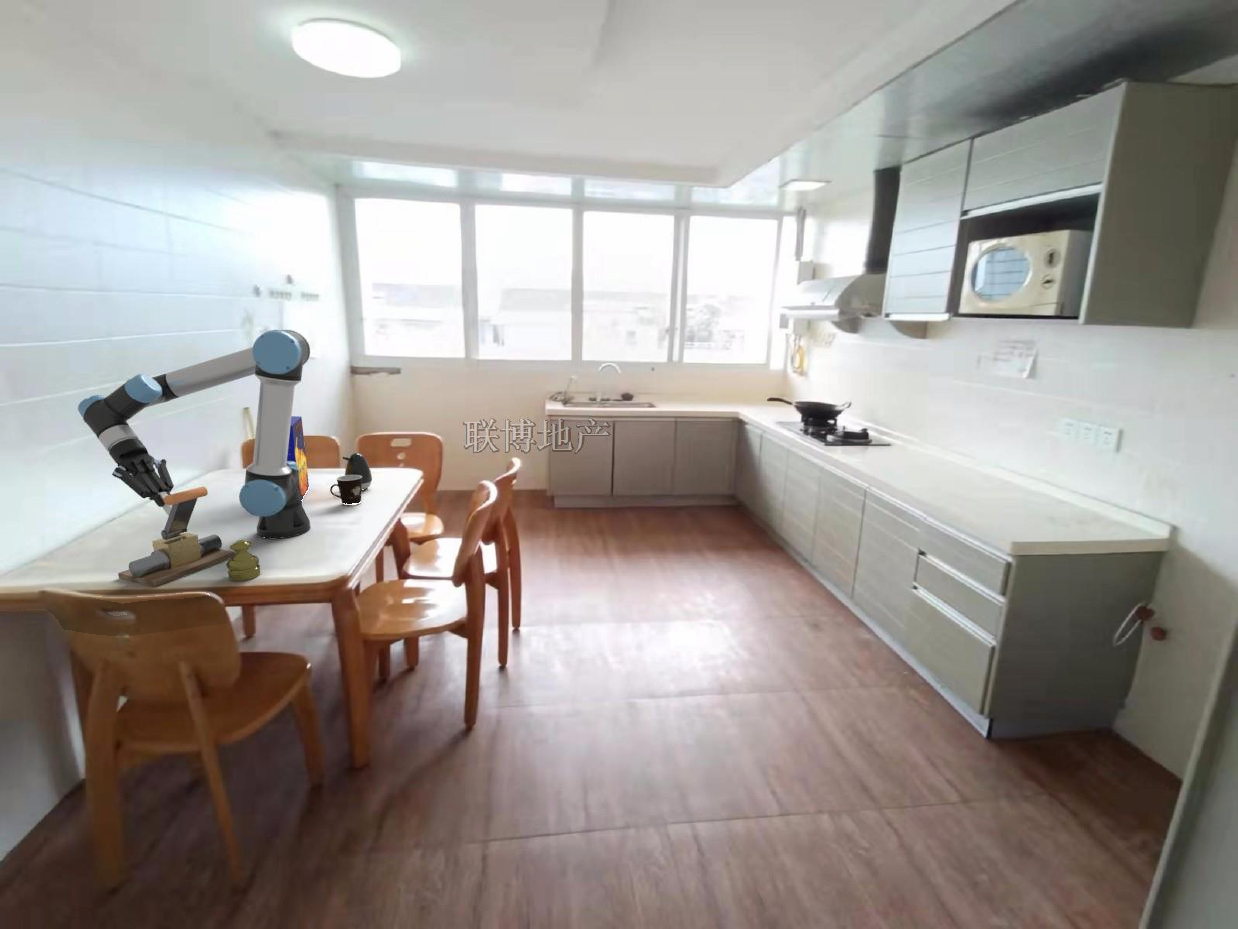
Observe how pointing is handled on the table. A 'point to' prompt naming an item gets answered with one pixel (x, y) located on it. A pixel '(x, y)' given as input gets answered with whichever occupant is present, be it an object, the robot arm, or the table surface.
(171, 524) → the valve lever
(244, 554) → the gold pawn figurine
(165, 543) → the pipe valve
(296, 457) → the cereal box
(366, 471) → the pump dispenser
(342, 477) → the coffee mug
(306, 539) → the table surface
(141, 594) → the table surface
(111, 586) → the table surface
